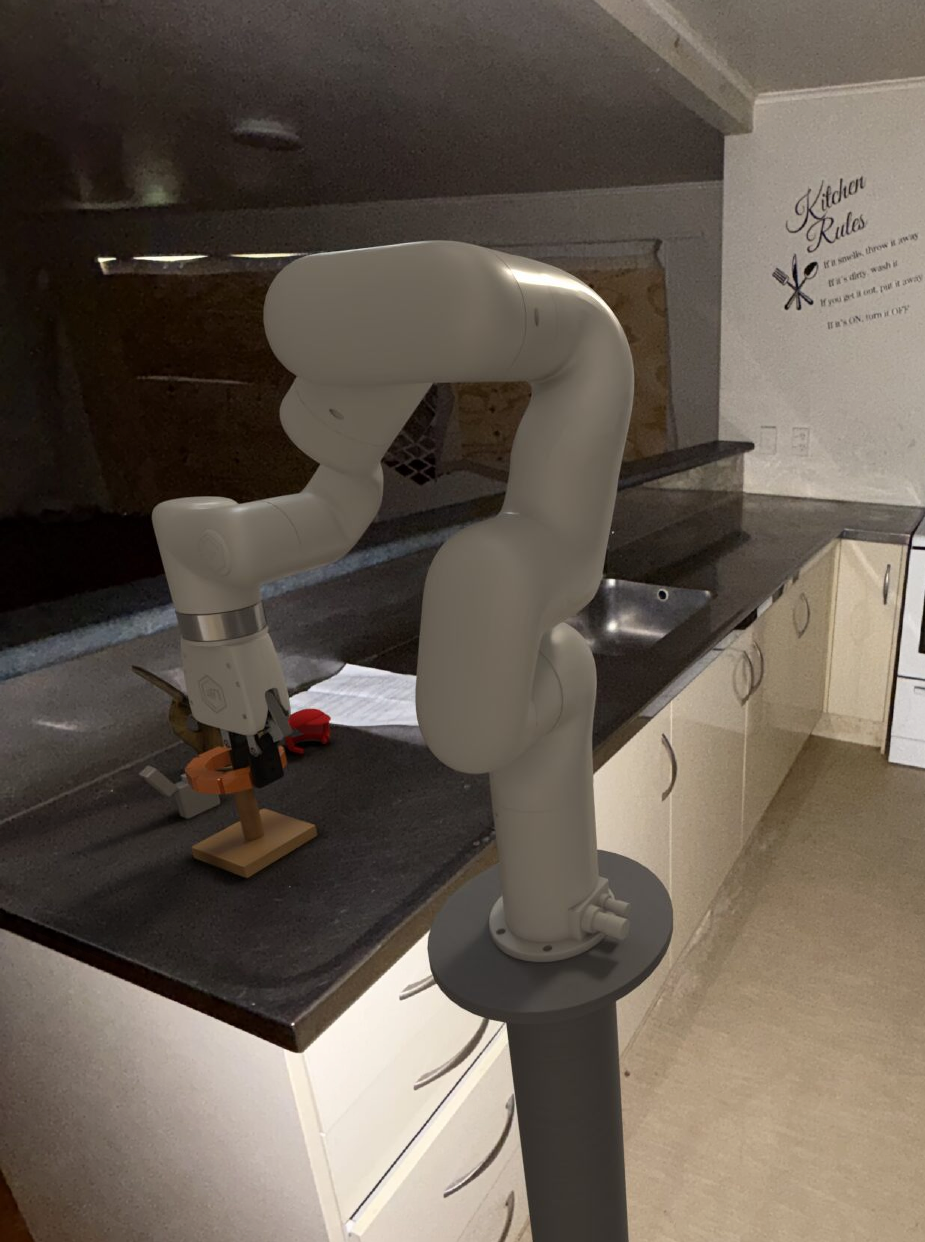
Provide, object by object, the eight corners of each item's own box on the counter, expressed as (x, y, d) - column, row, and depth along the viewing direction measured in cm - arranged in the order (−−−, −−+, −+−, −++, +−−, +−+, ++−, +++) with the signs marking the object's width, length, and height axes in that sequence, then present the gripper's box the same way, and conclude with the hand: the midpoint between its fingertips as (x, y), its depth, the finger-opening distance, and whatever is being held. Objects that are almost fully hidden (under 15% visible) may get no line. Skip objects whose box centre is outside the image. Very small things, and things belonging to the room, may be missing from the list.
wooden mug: (151, 783, 101) (113, 658, 95) (253, 744, 112) (226, 630, 105) (183, 802, 97) (146, 672, 90) (287, 759, 107) (260, 641, 101)
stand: (317, 835, 90) (302, 765, 86) (246, 878, 82) (227, 803, 79) (266, 818, 93) (249, 750, 90) (193, 858, 86) (172, 785, 82)
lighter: (213, 799, 97) (198, 744, 94) (221, 803, 96) (206, 747, 94) (153, 827, 91) (136, 769, 88) (161, 831, 90) (144, 772, 88)
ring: (305, 762, 87) (302, 748, 86) (226, 802, 78) (222, 787, 78) (250, 747, 90) (247, 733, 89) (169, 783, 82) (165, 769, 81)
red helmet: (271, 757, 108) (262, 719, 106) (291, 738, 113) (284, 702, 111) (327, 756, 108) (320, 719, 106) (345, 738, 114) (338, 702, 112)
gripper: (135, 621, 76) (179, 779, 83) (241, 644, 70) (280, 813, 77) (208, 602, 82) (244, 750, 89) (311, 621, 76) (341, 779, 83)
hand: (260, 778), depth 83 cm, fingers closed on ring, 2 cm apart
